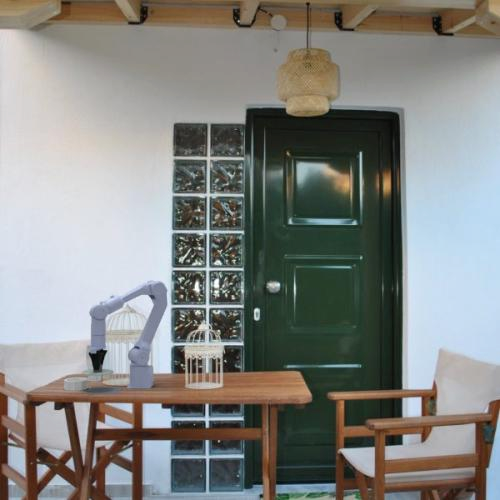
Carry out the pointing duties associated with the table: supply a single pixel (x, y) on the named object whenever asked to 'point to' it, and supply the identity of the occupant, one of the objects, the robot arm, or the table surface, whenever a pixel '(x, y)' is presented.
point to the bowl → (75, 384)
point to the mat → (103, 390)
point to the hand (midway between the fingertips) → (97, 369)
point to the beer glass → (91, 366)
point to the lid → (97, 372)
